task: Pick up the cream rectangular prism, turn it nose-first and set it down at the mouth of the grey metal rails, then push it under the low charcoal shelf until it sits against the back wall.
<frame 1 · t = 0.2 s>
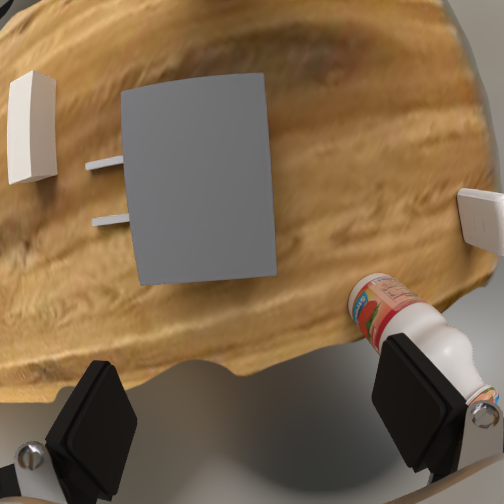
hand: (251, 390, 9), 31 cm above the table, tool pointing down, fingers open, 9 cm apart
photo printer: (464, 214, 40), on the table
overhang shelf: (214, 177, 37), on the table
fruit juice: (372, 298, 43), on the table
cream rectangular prism: (44, 129, 33), on the table
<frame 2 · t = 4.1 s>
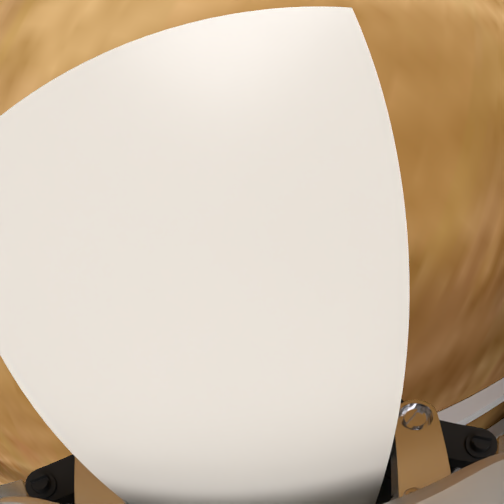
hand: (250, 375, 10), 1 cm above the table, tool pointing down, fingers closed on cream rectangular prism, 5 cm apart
cream rectangular prism: (248, 355, 11), on the table, touching gripper
when the fingers open (2 cm above the table, at t = 9.7 s): cream rectangular prism stays where it is, on the table.
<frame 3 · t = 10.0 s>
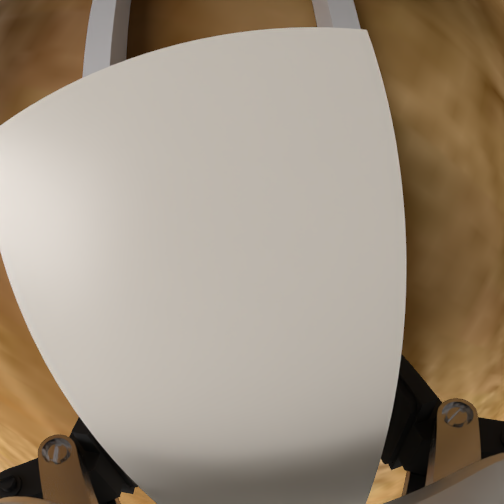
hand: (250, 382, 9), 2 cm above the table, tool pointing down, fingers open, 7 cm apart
cream rectangular prism: (249, 345, 11), on the table
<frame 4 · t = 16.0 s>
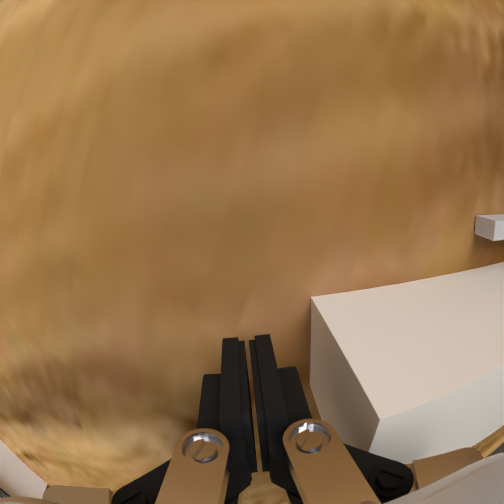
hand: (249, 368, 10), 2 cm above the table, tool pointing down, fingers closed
cream rectangular prism: (445, 315, 13), on the table, touching gripper
architectural model: (19, 457, 17), on the table
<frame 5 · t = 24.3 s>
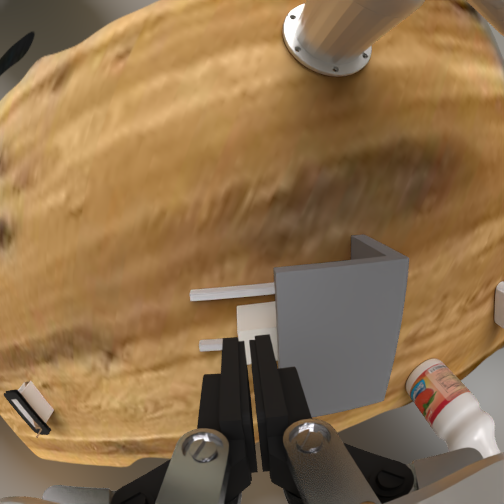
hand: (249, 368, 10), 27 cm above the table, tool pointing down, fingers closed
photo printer: (498, 300, 43), on the table
overhang shelf: (323, 306, 40), on the table
fruit juice: (423, 375, 46), on the table
cream rectangular prism: (295, 314, 40), resting in overhang shelf
architectural model: (40, 394, 43), on the table
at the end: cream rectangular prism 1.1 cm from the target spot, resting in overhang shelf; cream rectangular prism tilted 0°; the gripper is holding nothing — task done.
